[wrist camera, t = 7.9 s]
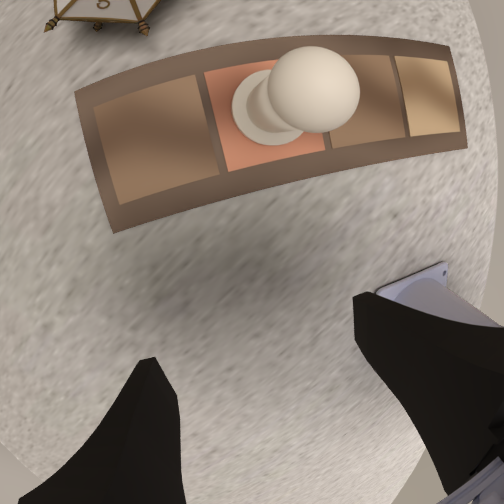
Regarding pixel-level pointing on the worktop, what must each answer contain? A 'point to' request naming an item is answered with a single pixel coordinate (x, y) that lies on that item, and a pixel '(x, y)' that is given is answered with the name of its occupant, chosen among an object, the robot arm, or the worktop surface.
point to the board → (240, 147)
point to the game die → (103, 12)
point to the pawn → (296, 97)
